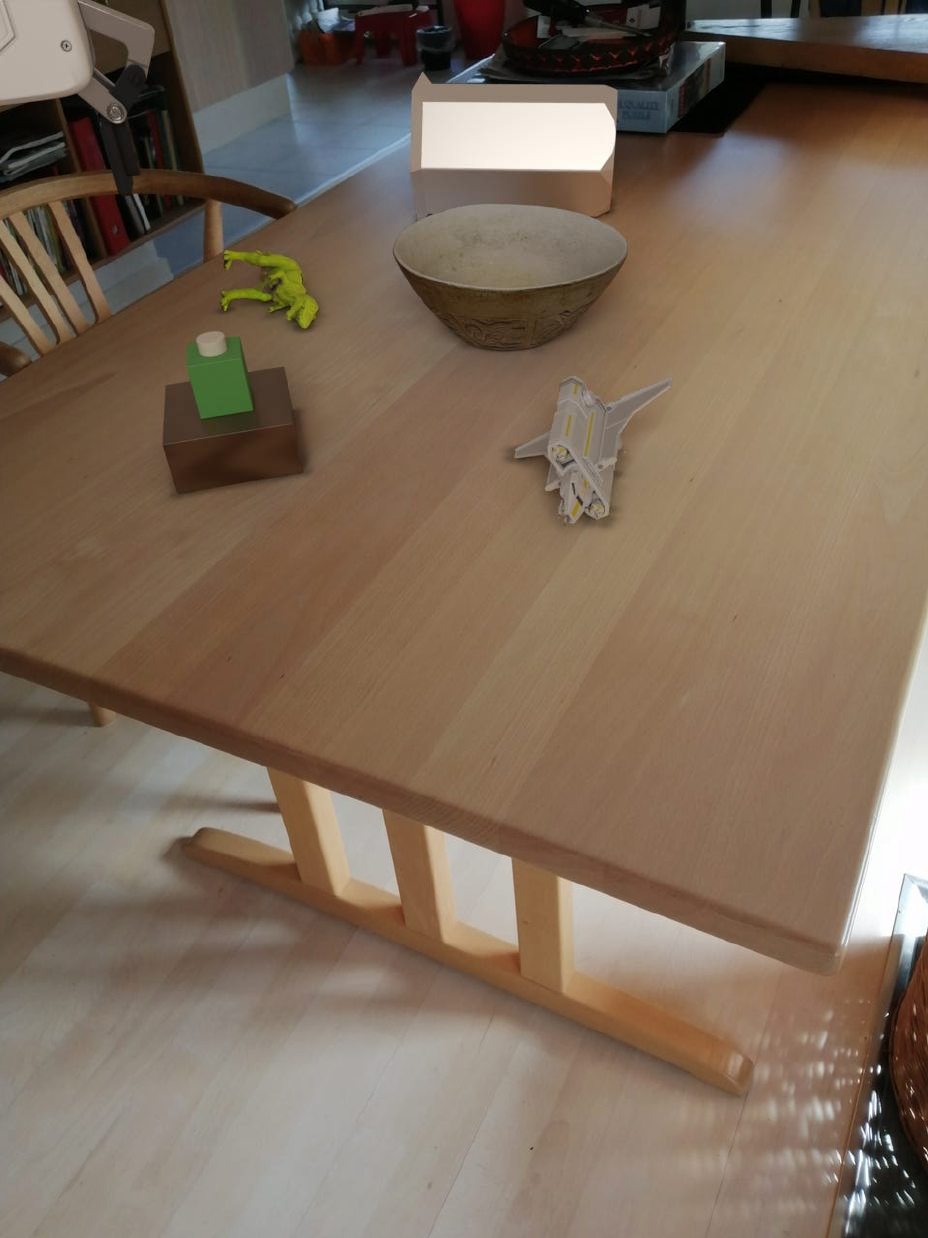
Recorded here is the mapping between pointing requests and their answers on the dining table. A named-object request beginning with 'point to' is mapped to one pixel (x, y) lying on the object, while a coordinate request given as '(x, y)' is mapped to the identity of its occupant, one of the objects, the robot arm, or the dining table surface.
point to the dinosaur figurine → (274, 285)
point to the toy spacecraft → (586, 445)
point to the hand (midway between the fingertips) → (46, 200)
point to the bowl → (509, 270)
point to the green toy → (219, 375)
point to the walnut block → (231, 436)
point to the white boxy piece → (512, 146)
